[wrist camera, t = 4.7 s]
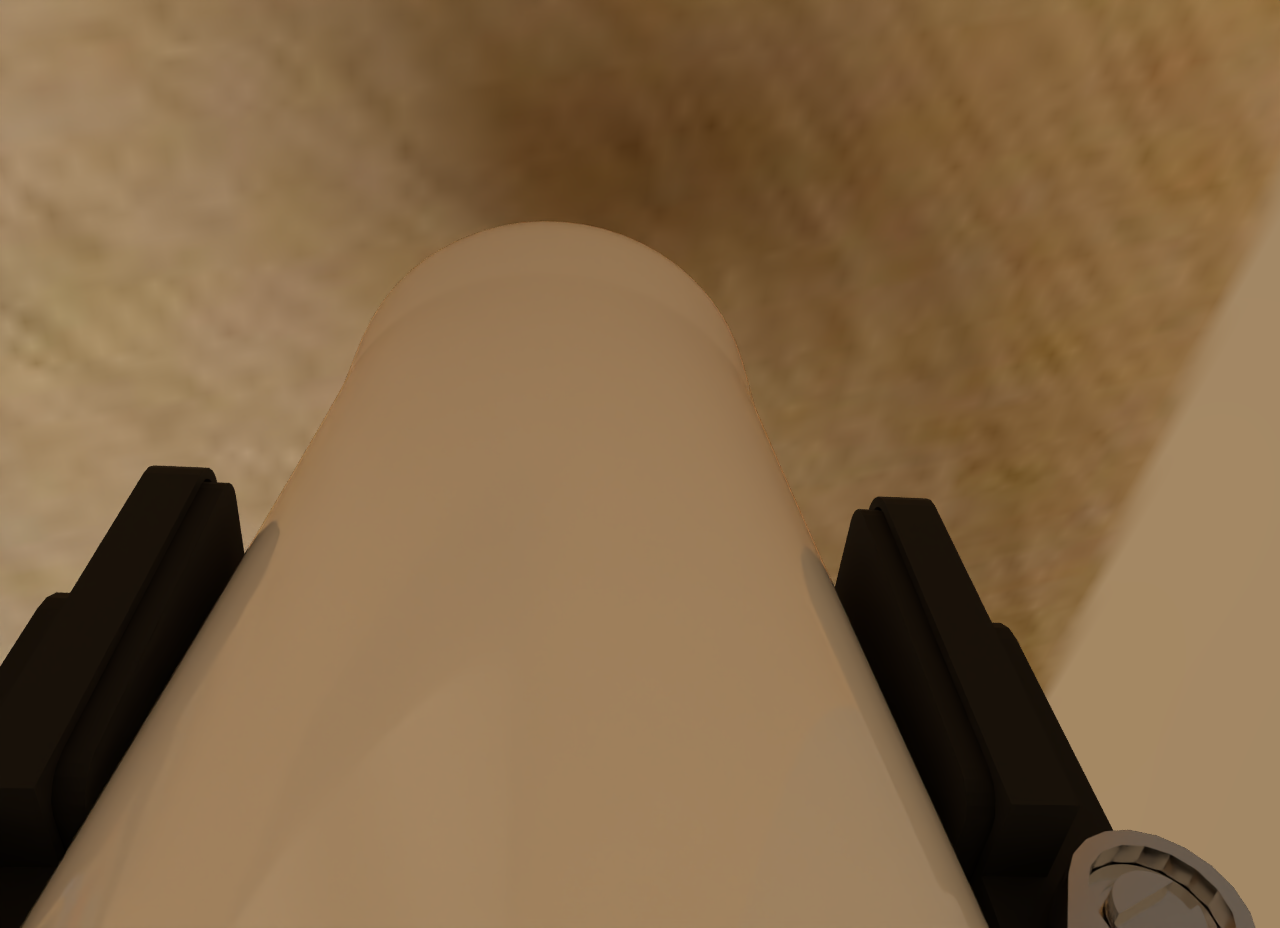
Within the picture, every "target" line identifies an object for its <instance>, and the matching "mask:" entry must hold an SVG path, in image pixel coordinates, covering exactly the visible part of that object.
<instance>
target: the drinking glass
mask: <svg viewBox="0 0 1280 928" xmlns="http://www.w3.org/2000/svg"><path fill="white" fill-rule="evenodd" d="M20 928H989V925H988V923H987V921H986V919H985V917H984V914H983V912H982V910H981V908H980V906H979V903H978V901H977V899H976V897H975V895H974V892H973V890H972V888H971V886H970V884H969V881H968V879H967V877H966V875H965V873H964V870H963V868H962V866H961V864H960V862H959V859H958V857H957V855H956V853H955V851H954V848H953V846H952V844H951V842H950V840H949V837H948V835H947V833H946V831H945V829H944V826H943V824H942V822H941V820H940V818H939V815H938V813H937V811H936V809H935V807H934V805H933V802H932V800H931V798H930V796H929V794H928V791H927V789H926V787H925V785H924V783H923V780H922V778H921V776H920V774H919V772H918V769H917V767H916V765H915V763H914V761H913V758H912V756H911V754H910V752H909V750H908V748H907V745H906V743H905V741H904V739H903V737H902V734H901V732H900V730H899V728H898V726H897V723H896V721H895V719H894V717H893V715H892V713H891V710H890V708H889V706H888V704H887V702H886V699H885V697H884V695H883V693H882V691H881V688H880V686H879V684H878V682H877V680H876V677H875V675H874V673H873V671H872V669H871V667H870V664H869V662H868V660H867V658H866V655H865V653H864V651H863V649H862V647H861V644H860V642H859V640H858V638H857V635H856V633H855V631H854V629H853V627H852V624H851V622H850V620H849V618H848V616H847V613H846V611H845V609H844V607H843V604H842V602H841V600H840V598H839V596H838V593H837V591H836V589H835V587H834V584H833V582H832V580H831V578H830V576H829V573H828V571H827V569H826V567H825V565H824V562H823V560H822V558H821V556H820V553H819V551H818V549H817V547H816V544H815V542H814V540H813V538H812V535H811V533H810V531H809V529H808V526H807V524H806V522H805V520H804V517H803V515H802V513H801V511H800V508H799V506H798V504H797V502H796V499H795V497H794V495H793V493H792V490H791V488H790V486H789V484H788V481H787V479H786V477H785V474H784V472H783V470H782V468H781V465H780V463H779V461H778V458H777V456H776V454H775V452H774V449H773V447H772V445H771V442H770V440H769V438H768V435H767V433H766V431H765V428H764V426H763V424H762V421H761V419H760V417H759V414H758V412H757V410H756V407H755V404H754V400H753V396H752V392H751V389H750V385H749V381H748V378H747V374H746V371H745V367H744V364H743V361H742V358H741V355H740V352H739V349H738V346H737V344H736V341H735V339H734V337H733V335H732V333H731V331H730V329H729V327H728V325H727V322H726V321H725V319H724V318H723V316H722V314H721V313H720V311H719V310H718V308H717V307H716V305H715V304H714V303H713V301H712V300H711V299H710V298H709V296H708V295H707V294H706V292H705V291H704V290H703V289H702V288H701V287H700V286H699V285H698V284H697V283H696V282H695V281H694V280H693V279H692V278H691V276H689V275H688V274H687V273H686V272H685V271H683V270H682V269H681V268H680V267H679V266H677V265H676V264H675V263H674V262H672V261H671V260H669V259H668V258H666V257H665V256H663V255H662V254H660V253H659V252H657V251H656V250H654V249H652V248H650V247H648V246H646V245H645V244H643V243H641V242H639V241H636V240H634V239H632V238H629V237H627V236H625V235H622V234H619V233H616V232H613V231H610V230H607V229H603V228H599V227H595V226H590V225H585V224H579V223H571V222H562V221H534V222H520V223H514V224H508V225H502V226H498V227H494V228H490V229H487V230H483V231H480V232H477V233H474V234H472V235H469V236H466V237H464V238H461V239H459V240H457V241H455V242H453V243H451V244H449V245H447V246H445V247H443V248H442V249H440V250H439V251H437V252H435V253H434V254H432V255H431V256H429V257H427V258H426V259H425V260H423V261H422V262H421V263H420V264H418V265H417V266H416V267H414V268H413V269H412V270H411V271H410V272H409V273H408V274H407V275H406V276H405V277H404V278H403V279H401V280H400V281H399V282H398V283H397V284H396V285H395V287H394V288H393V289H392V290H391V292H390V293H389V294H388V295H387V296H386V298H385V299H384V300H383V302H382V303H381V305H380V306H379V308H378V309H377V311H376V312H375V314H374V315H373V317H372V319H371V321H370V323H369V325H368V327H367V329H366V331H365V333H364V335H363V337H362V339H361V341H360V344H359V346H358V348H357V351H356V353H355V356H354V359H353V361H352V364H351V366H350V369H349V371H348V374H347V376H346V379H345V381H344V384H343V386H342V388H341V390H340V391H339V393H338V395H337V397H336V398H335V400H334V402H333V404H332V405H331V407H330V409H329V411H328V412H327V414H326V416H325V418H324V419H323V421H322V423H321V425H320V426H319V428H318V430H317V432H316V433H315V435H314V437H313V438H312V440H311V442H310V444H309V445H308V447H307V449H306V450H305V452H304V454H303V456H302V457H301V459H300V461H299V462H298V464H297V466H296V468H295V469H294V471H293V473H292V474H291V476H290V478H289V480H288V481H287V483H286V485H285V486H284V488H283V490H282V491H281V493H280V495H279V496H278V498H277V500H276V502H275V503H274V505H273V507H272V508H271V510H270V512H269V513H268V515H267V517H266V519H265V520H264V522H263V524H262V525H261V527H260V529H259V530H258V532H257V534H256V536H255V537H254V539H253V541H252V542H251V544H250V546H249V547H248V549H247V551H246V552H245V554H244V556H243V557H242V559H241V561H240V562H239V564H238V566H237V567H236V569H235V571H234V572H233V574H232V576H231V578H230V579H229V581H228V583H227V584H226V586H225V588H224V589H223V591H222V593H221V594H220V596H219V598H218V599H217V601H216V603H215V604H214V606H213V608H212V609H211V611H210V613H209V614H208V616H207V618H206V619H205V621H204V623H203V625H202V626H201V628H200V630H199V631H198V633H197V635H196V636H195V638H194V640H193V641H192V643H191V645H190V646H189V648H188V650H187V651H186V653H185V655H184V656H183V658H182V660H181V661H180V663H179V665H178V666H177V668H176V670H175V671H174V673H173V674H172V676H171V678H170V679H169V681H168V683H167V684H166V686H165V688H164V689H163V691H162V693H161V694H160V696H159V698H158V699H157V701H156V703H155V704H154V706H153V708H152V709H151V711H150V713H149V714H148V716H147V718H146V719H145V721H144V723H143V724H142V726H141V728H140V729H139V731H138V733H137V734H136V736H135V738H134V739H133V741H132V743H131V744H130V746H129V748H128V749H127V751H126V753H125V754H124V756H123V758H122V759H121V761H120V763H119V764H118V766H117V767H116V769H115V771H114V772H113V774H112V776H111V777H110V779H109V781H108V782H107V784H106V786H105V787H104V789H103V791H102V792H101V794H100V796H99V797H98V799H97V801H96V802H95V804H94V806H93V807H92V809H91V811H90V812H89V814H88V816H87V817H86V819H85V821H84V822H83V824H82V826H81V827H80V829H79V831H78V832H77V834H76V836H75V837H74V839H73V841H72V842H71V844H70V846H69V847H68V849H67V851H66V852H65V854H64V856H63V857H62V859H61V861H60V862H59V864H58V866H57V867H56V869H55V871H54V872H53V874H52V876H51V877H50V879H49V881H48V882H47V884H46V886H45V887H44V889H43V891H42V892H41V894H40V896H39V897H38V899H37V901H36V902H35V904H34V906H33V907H32V909H31V911H30V912H29V914H28V916H27V917H26V919H25V921H24V922H23V924H22V926H21V927H20Z"/></svg>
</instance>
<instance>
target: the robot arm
mask: <svg viewBox="0 0 1280 928" xmlns="http://www.w3.org/2000/svg"><path fill="white" fill-rule="evenodd" d="M243 556H244V548H243V541H242V534H241V528H240V521H239V514H238V507H237V500H236V495H235V490H234V488H233V486H232V484H230V483H217V480H216V476H215V474H214V472H213V470H211V469H210V468H200V467H177V466H150V467H148V468H147V470H146V471H145V472H144V473H143V475H142V477H141V478H140V480H139V481H138V483H137V485H136V486H135V488H134V490H133V491H132V493H131V495H130V496H129V498H128V499H127V501H126V503H125V504H124V506H123V508H122V509H121V511H120V512H119V514H118V516H117V517H116V519H115V521H114V522H113V524H112V526H111V527H110V529H109V530H108V532H107V534H106V535H105V537H104V539H103V540H102V542H101V543H100V545H99V547H98V548H97V550H96V552H95V553H94V555H93V557H92V558H91V560H90V561H89V563H88V565H87V566H86V568H85V570H84V571H83V573H82V574H81V576H80V578H79V579H78V581H77V583H76V584H75V586H74V588H73V589H72V591H71V592H70V593H55V594H53V595H51V596H48V597H47V598H46V599H45V600H44V601H43V602H42V604H41V605H40V606H39V607H38V608H37V610H36V611H35V613H34V615H33V616H32V618H31V619H30V621H29V622H28V624H27V625H26V627H25V629H24V630H23V632H22V633H21V635H20V636H19V638H18V640H17V641H16V643H15V644H14V646H13V647H12V649H11V650H10V652H9V654H8V655H7V657H6V658H5V660H4V661H3V663H2V665H1V666H0V928H20V927H21V926H22V924H23V922H24V921H25V919H26V917H27V916H28V914H29V912H30V911H31V909H32V907H33V906H34V904H35V902H36V901H37V899H38V897H39V896H40V894H41V892H42V891H43V889H44V887H45V886H46V884H47V882H48V881H49V879H50V877H51V876H52V874H53V872H54V871H55V869H56V867H57V866H58V864H59V862H60V861H61V859H62V857H63V856H64V854H65V852H66V851H67V849H68V847H69V846H70V844H71V842H72V841H73V839H74V837H75V836H76V834H77V832H78V831H79V829H80V827H81V826H82V824H83V822H84V821H85V819H86V817H87V816H88V814H89V812H90V811H91V809H92V807H93V806H94V804H95V802H96V801H97V799H98V797H99V796H100V794H101V792H102V791H103V789H104V787H105V786H106V784H107V782H108V781H109V779H110V777H111V776H112V774H113V772H114V771H115V769H116V767H117V766H118V764H119V763H120V761H121V759H122V758H123V756H124V754H125V753H126V751H127V749H128V748H129V746H130V744H131V743H132V741H133V739H134V738H135V736H136V734H137V733H138V731H139V729H140V728H141V726H142V724H143V723H144V721H145V719H146V718H147V716H148V714H149V713H150V711H151V709H152V708H153V706H154V704H155V703H156V701H157V699H158V698H159V696H160V694H161V693H162V691H163V689H164V688H165V686H166V684H167V683H168V681H169V679H170V678H171V676H172V674H173V673H174V671H175V670H176V668H177V666H178V665H179V663H180V661H181V660H182V658H183V656H184V655H185V653H186V651H187V650H188V648H189V646H190V645H191V643H192V641H193V640H194V638H195V636H196V635H197V633H198V631H199V630H200V628H201V626H202V625H203V623H204V621H205V619H206V618H207V616H208V614H209V613H210V611H211V609H212V608H213V606H214V604H215V603H216V601H217V599H218V598H219V596H220V594H221V593H222V591H223V589H224V588H225V586H226V584H227V583H228V581H229V579H230V578H231V576H232V574H233V572H234V571H235V569H236V567H237V566H238V564H239V562H240V561H241V559H242V557H243ZM835 589H836V591H837V593H838V596H839V598H840V600H841V602H842V604H843V607H844V609H845V611H846V613H847V616H848V618H849V620H850V622H851V624H852V627H853V629H854V631H855V633H856V635H857V638H858V640H859V642H860V644H861V647H862V649H863V651H864V653H865V655H866V658H867V660H868V662H869V664H870V667H871V669H872V671H873V673H874V675H875V677H876V680H877V682H878V684H879V686H880V688H881V691H882V693H883V695H884V697H885V699H886V702H887V704H888V706H889V708H890V710H891V713H892V715H893V717H894V719H895V721H896V723H897V726H898V728H899V730H900V732H901V734H902V737H903V739H904V741H905V743H906V745H907V748H908V750H909V752H910V754H911V756H912V758H913V761H914V763H915V765H916V767H917V769H918V772H919V774H920V776H921V778H922V780H923V783H924V785H925V787H926V789H927V791H928V794H929V796H930V798H931V800H932V802H933V805H934V807H935V809H936V811H937V813H938V815H939V818H940V820H941V822H942V824H943V826H944V829H945V831H946V833H947V835H948V837H949V840H950V842H951V844H952V846H953V848H954V851H955V853H956V855H957V857H958V859H959V862H960V864H961V866H962V868H963V870H964V873H965V875H966V877H967V879H968V881H969V884H970V886H971V888H972V890H973V892H974V895H975V897H976V899H977V901H978V903H979V906H980V908H981V910H982V912H983V914H984V917H985V919H986V921H987V923H988V925H989V928H1255V925H1254V923H1253V919H1252V916H1251V913H1250V911H1249V910H1248V908H1247V907H1246V905H1245V904H1244V902H1243V901H1242V899H1241V898H1240V896H1239V895H1238V893H1237V892H1236V890H1235V889H1234V887H1233V886H1232V885H1231V884H1230V883H1229V882H1228V881H1227V880H1226V879H1225V878H1224V877H1222V876H1221V875H1220V874H1219V873H1218V872H1217V871H1216V870H1215V869H1214V868H1213V867H1212V866H1211V865H1210V864H1208V863H1207V862H1205V861H1204V860H1202V859H1201V858H1199V857H1198V856H1196V855H1195V854H1193V853H1192V852H1190V851H1189V850H1188V849H1186V848H1184V847H1182V846H1180V845H1177V844H1175V843H1173V842H1171V841H1168V840H1166V839H1164V838H1161V837H1159V836H1156V835H1151V834H1147V833H1142V832H1137V831H1132V830H1120V831H1113V829H1112V827H1111V825H1110V823H1109V821H1108V819H1107V817H1106V815H1105V814H1104V812H1103V809H1102V808H1101V806H1100V803H1099V801H1098V800H1097V798H1096V796H1095V794H1094V792H1093V790H1092V788H1091V786H1090V784H1089V782H1088V780H1087V778H1086V776H1085V774H1084V772H1083V770H1082V768H1081V766H1080V764H1079V762H1078V760H1077V758H1076V756H1075V754H1074V752H1073V750H1072V748H1071V746H1070V744H1069V742H1068V740H1067V738H1066V736H1065V735H1064V732H1063V730H1062V729H1061V727H1060V724H1059V723H1058V720H1057V719H1056V717H1055V714H1054V713H1053V711H1052V709H1051V707H1050V705H1049V703H1048V701H1047V699H1046V697H1045V695H1044V693H1043V691H1042V689H1041V687H1040V685H1039V683H1038V681H1037V679H1036V677H1035V675H1034V673H1033V671H1032V669H1031V667H1030V665H1029V663H1028V661H1027V659H1026V657H1025V655H1024V653H1023V651H1022V649H1021V647H1020V645H1019V643H1018V641H1017V639H1016V638H1015V636H1014V635H1013V633H1012V632H1011V631H1010V629H1009V628H1008V627H1006V626H1005V625H1003V624H1001V623H992V622H991V620H990V618H989V616H988V614H987V612H986V610H985V608H984V606H983V604H982V602H981V600H980V597H979V595H978V593H977V591H976V589H975V587H974V585H973V583H972V581H971V579H970V577H969V575H968V573H967V571H966V569H965V567H964V565H963V563H962V561H961V558H960V556H959V554H958V552H957V550H956V548H955V546H954V544H953V542H952V540H951V538H950V536H949V534H948V532H947V530H946V528H945V526H944V524H943V521H942V519H941V517H940V515H939V513H938V511H937V509H936V507H935V505H934V504H933V503H932V501H931V500H929V499H923V498H900V497H876V498H875V499H874V500H873V501H872V503H871V505H870V508H869V510H865V509H858V510H856V511H855V512H854V514H853V516H852V520H851V523H850V527H849V531H848V535H847V540H846V544H845V548H844V552H843V556H842V560H841V564H840V569H839V573H838V577H837V581H836V585H835Z"/></svg>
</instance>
